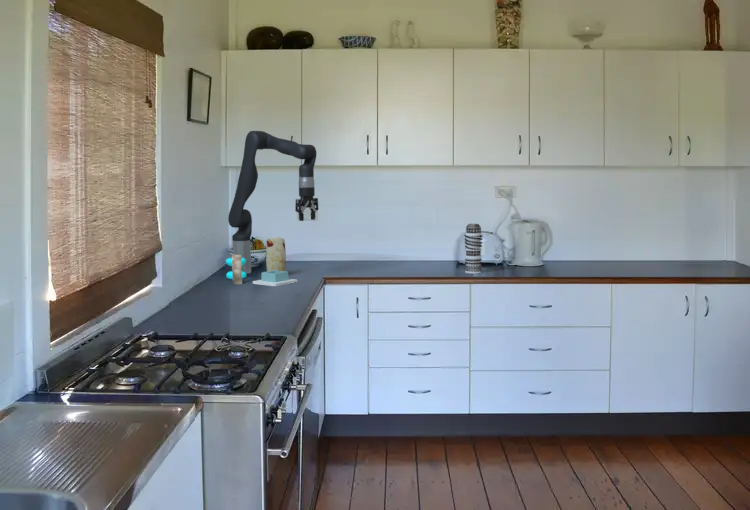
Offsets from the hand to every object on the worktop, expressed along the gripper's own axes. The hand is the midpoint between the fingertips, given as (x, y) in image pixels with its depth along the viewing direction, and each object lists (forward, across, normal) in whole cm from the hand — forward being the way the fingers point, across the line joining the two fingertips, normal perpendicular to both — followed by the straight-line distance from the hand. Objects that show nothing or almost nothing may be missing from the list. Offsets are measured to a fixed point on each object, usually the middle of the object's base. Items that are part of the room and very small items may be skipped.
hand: (307, 220), depth 356 cm
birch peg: (+29, +27, -21) cm, 45 cm away
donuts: (+30, +14, -35) cm, 48 cm away
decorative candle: (+30, -65, +56) cm, 91 cm away
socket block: (+29, +15, -8) cm, 34 cm away
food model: (+30, 0, -21) cm, 36 cm away
